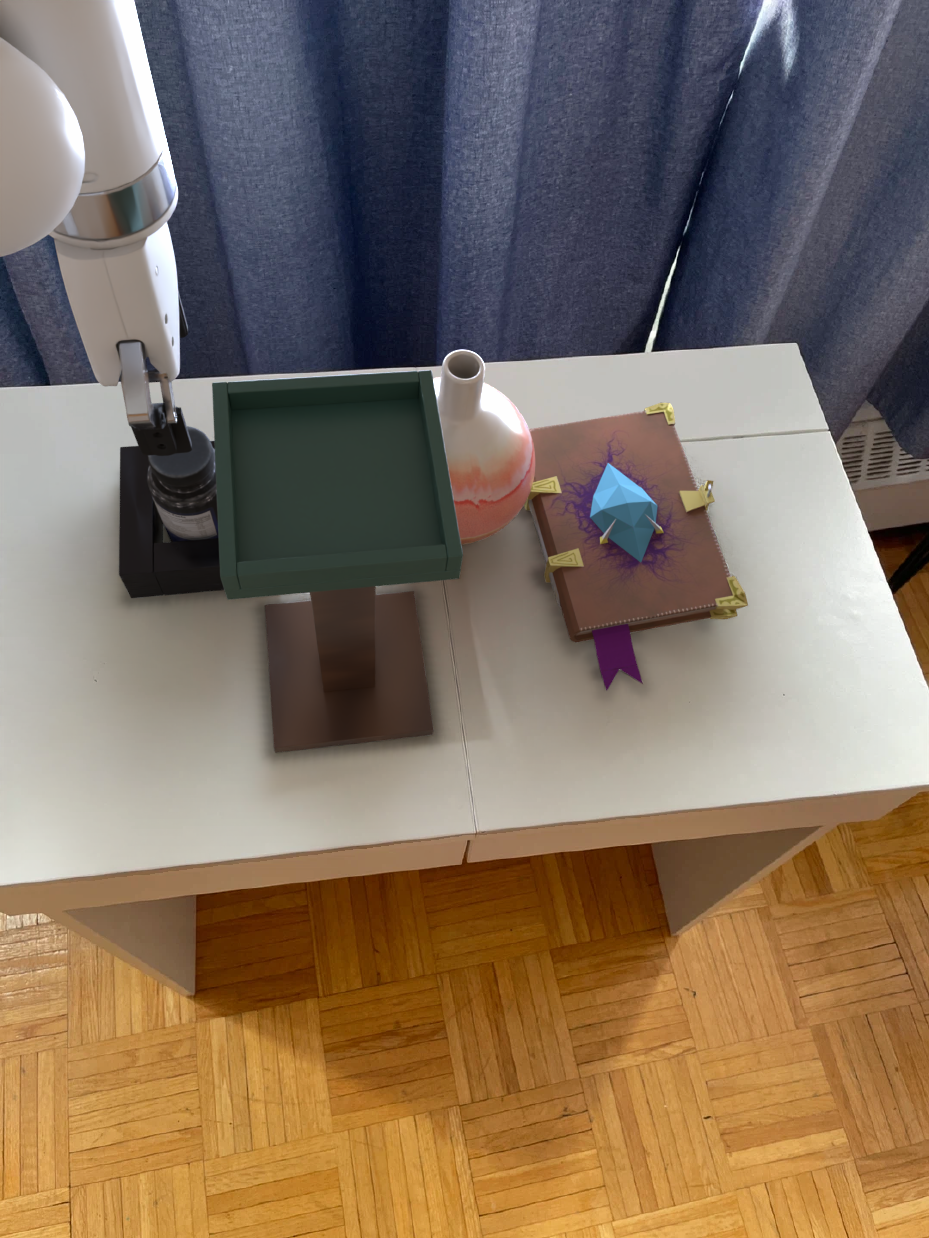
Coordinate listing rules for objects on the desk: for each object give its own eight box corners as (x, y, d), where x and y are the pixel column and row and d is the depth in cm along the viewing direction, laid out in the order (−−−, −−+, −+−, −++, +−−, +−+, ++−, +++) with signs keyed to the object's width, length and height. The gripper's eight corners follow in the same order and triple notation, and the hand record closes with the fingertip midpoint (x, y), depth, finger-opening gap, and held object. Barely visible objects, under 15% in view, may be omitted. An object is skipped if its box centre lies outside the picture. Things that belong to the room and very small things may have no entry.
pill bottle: (205, 485, 80) (181, 403, 70) (257, 525, 79) (240, 447, 69) (151, 531, 78) (119, 453, 68) (204, 574, 77) (179, 500, 67)
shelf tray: (227, 600, 48) (220, 577, 45) (218, 411, 53) (211, 382, 50) (459, 579, 49) (463, 555, 47) (429, 398, 54) (432, 369, 52)
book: (576, 701, 75) (586, 678, 71) (507, 451, 85) (511, 417, 81) (767, 664, 77) (788, 640, 73) (677, 424, 87) (690, 389, 83)
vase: (498, 426, 86) (526, 280, 70) (544, 552, 80) (586, 425, 64) (351, 453, 83) (346, 307, 67) (389, 585, 78) (393, 461, 62)
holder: (130, 598, 75) (118, 575, 71) (131, 474, 80) (119, 446, 76) (282, 585, 77) (277, 561, 73) (273, 464, 82) (268, 436, 78)
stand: (275, 752, 71) (227, 600, 48) (266, 611, 76) (218, 411, 53) (432, 734, 72) (459, 579, 49) (413, 597, 77) (429, 398, 54)
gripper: (27, 64, 51) (110, 297, 66) (10, 306, 43) (107, 504, 59) (170, 61, 52) (218, 291, 67) (176, 297, 45) (228, 494, 60)
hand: (166, 391), depth 63 cm, fingers open, 9 cm apart
